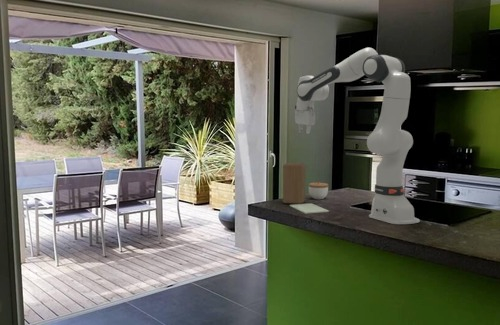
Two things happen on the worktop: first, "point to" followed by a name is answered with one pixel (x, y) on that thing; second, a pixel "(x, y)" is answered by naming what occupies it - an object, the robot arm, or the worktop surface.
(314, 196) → the lidded jar
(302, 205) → the mat
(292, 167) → the wooden block
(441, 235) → the worktop surface
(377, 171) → the robot arm
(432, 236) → the worktop surface
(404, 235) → the worktop surface
